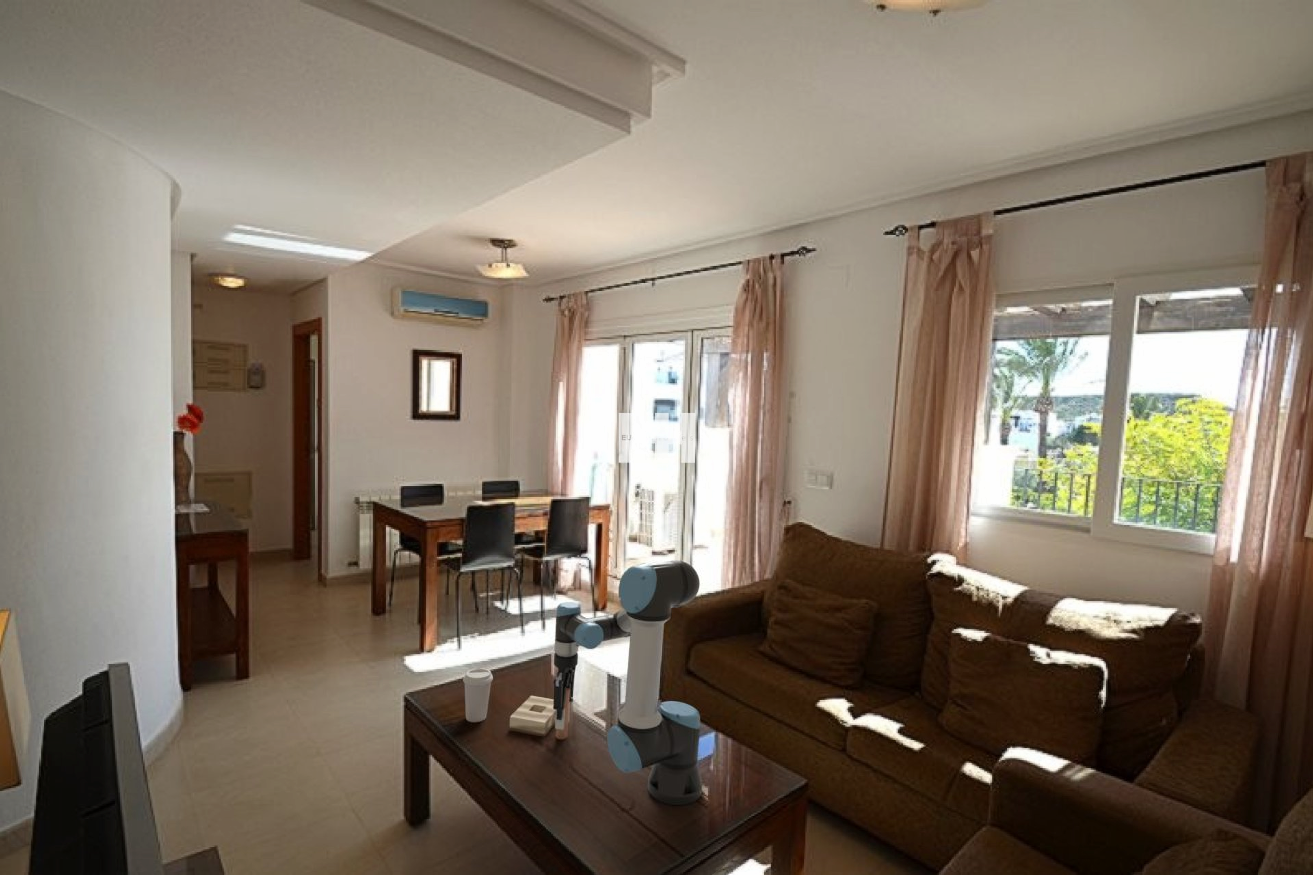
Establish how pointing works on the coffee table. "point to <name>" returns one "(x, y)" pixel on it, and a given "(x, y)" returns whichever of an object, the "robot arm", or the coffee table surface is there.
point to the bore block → (534, 716)
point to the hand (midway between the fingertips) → (562, 725)
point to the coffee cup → (477, 693)
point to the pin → (563, 733)
